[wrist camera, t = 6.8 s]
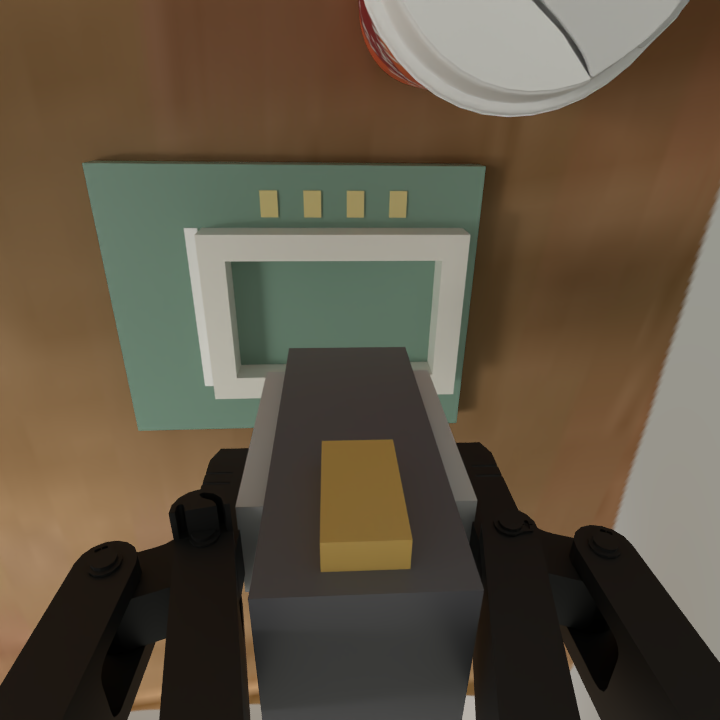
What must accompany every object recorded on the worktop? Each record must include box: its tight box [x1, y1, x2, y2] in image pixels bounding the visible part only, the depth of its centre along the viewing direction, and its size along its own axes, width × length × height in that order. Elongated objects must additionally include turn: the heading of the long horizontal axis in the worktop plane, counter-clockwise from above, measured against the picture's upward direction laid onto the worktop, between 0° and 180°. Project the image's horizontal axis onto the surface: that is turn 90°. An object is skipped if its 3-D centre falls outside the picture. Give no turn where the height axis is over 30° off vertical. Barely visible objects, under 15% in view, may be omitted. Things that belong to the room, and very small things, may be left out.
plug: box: [248, 347, 484, 720], centre depth 14 cm, size 4×5×10 cm
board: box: [82, 161, 486, 431], centre depth 26 cm, size 18×14×3 cm
